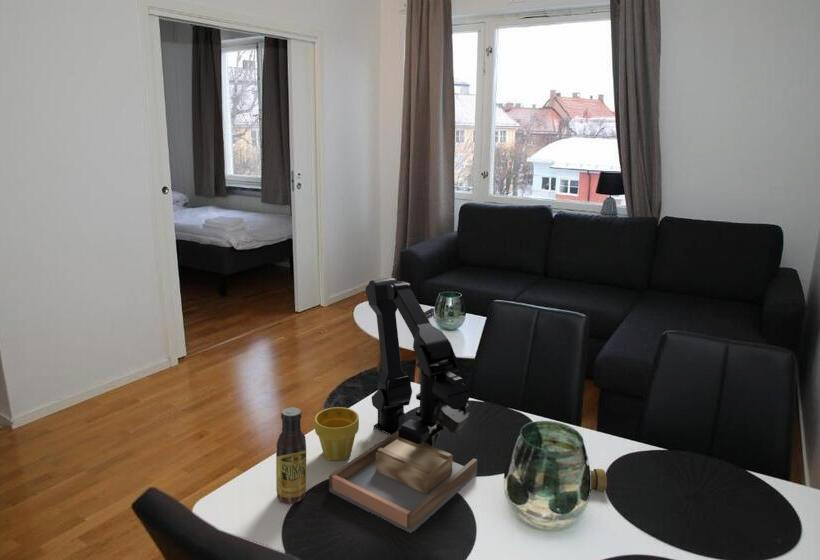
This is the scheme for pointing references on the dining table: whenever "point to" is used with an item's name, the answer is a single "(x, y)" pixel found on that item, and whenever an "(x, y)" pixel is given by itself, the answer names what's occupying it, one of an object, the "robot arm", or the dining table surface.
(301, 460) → the sauce bottle
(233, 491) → the dining table surface
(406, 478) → the brown wooden box
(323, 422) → the plant pot
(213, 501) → the dining table surface
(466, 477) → the bay
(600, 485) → the gavel
